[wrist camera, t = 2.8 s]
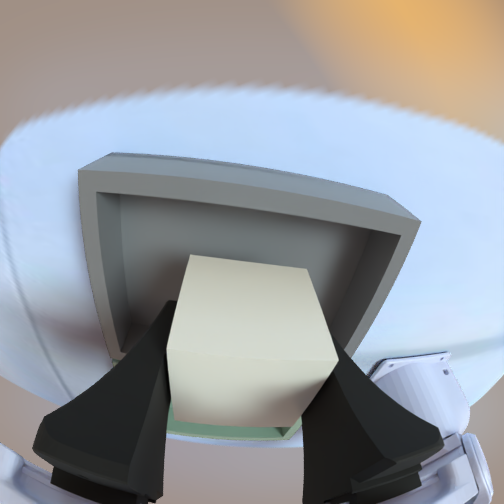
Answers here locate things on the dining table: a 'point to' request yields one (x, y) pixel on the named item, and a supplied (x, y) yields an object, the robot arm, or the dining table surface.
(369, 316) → the tray
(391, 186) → the dining table surface
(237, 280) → the stone block
